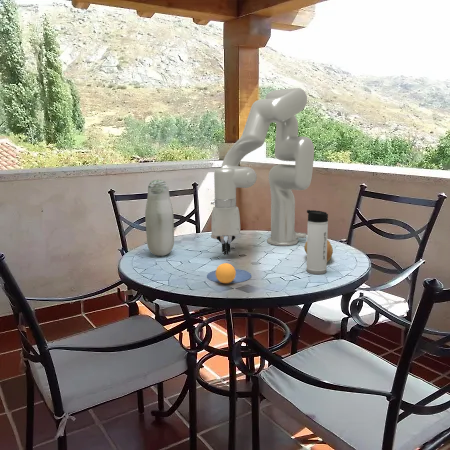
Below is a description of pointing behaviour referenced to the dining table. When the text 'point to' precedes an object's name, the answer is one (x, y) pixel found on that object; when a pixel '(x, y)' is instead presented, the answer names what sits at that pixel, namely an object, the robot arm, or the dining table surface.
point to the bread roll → (329, 250)
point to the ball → (225, 273)
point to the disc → (239, 277)
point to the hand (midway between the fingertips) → (226, 253)
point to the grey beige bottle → (159, 219)
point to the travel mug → (317, 242)
